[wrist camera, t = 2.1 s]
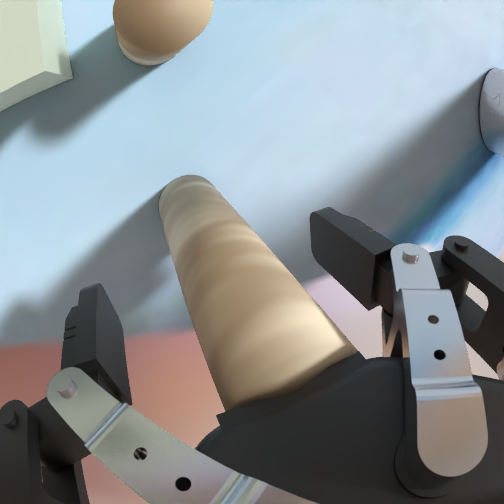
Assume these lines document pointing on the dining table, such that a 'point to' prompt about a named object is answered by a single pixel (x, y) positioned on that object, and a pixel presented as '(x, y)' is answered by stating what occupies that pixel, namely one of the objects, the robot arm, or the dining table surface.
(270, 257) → the long dowel
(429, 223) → the dining table surface
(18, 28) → the hole block
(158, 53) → the short dowel
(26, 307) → the dining table surface
